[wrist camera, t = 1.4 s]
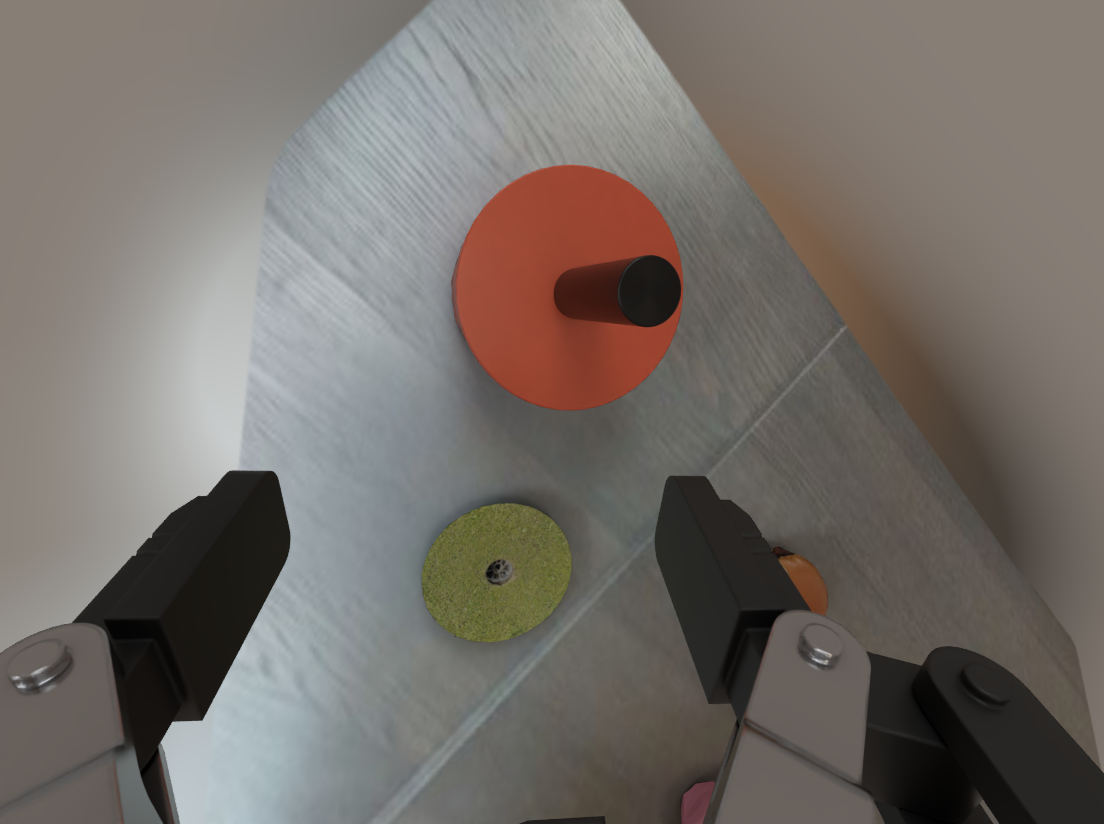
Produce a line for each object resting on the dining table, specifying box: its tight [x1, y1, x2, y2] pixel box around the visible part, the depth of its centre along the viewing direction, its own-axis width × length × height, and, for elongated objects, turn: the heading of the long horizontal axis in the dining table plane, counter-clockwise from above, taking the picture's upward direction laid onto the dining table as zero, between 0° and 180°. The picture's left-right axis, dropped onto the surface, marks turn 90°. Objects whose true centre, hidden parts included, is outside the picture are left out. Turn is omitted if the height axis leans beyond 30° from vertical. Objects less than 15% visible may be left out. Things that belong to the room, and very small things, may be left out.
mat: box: [422, 503, 572, 642], centre depth 39 cm, size 11×11×2 cm
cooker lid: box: [455, 165, 683, 410], centre depth 25 cm, size 13×13×10 cm
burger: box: [771, 547, 828, 616], centre depth 45 cm, size 10×9×5 cm
